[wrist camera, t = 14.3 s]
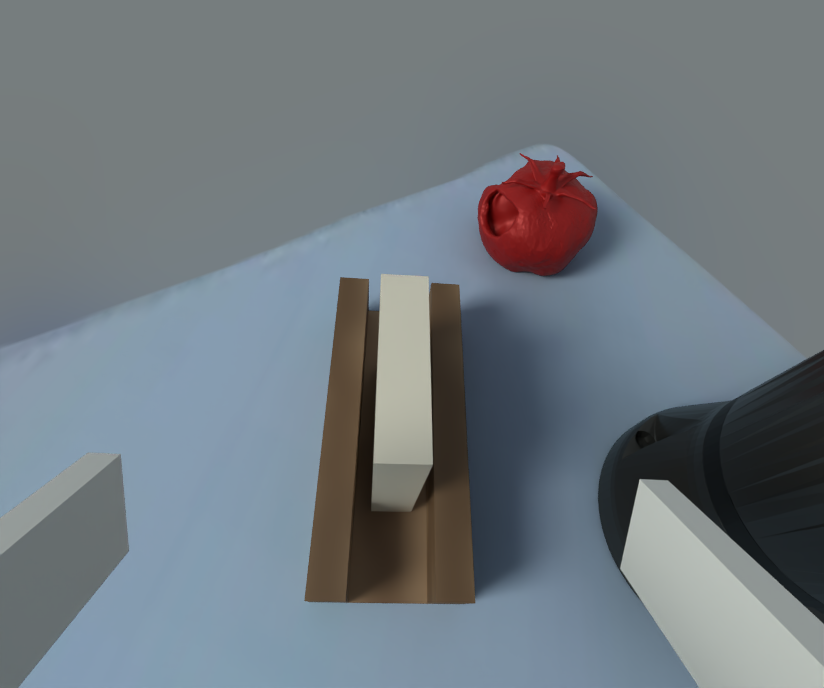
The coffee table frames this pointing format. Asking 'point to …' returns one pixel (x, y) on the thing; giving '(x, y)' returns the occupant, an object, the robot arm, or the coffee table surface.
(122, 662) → the coffee table surface
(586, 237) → the pomegranate
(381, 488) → the cream rectangular block
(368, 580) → the rack
